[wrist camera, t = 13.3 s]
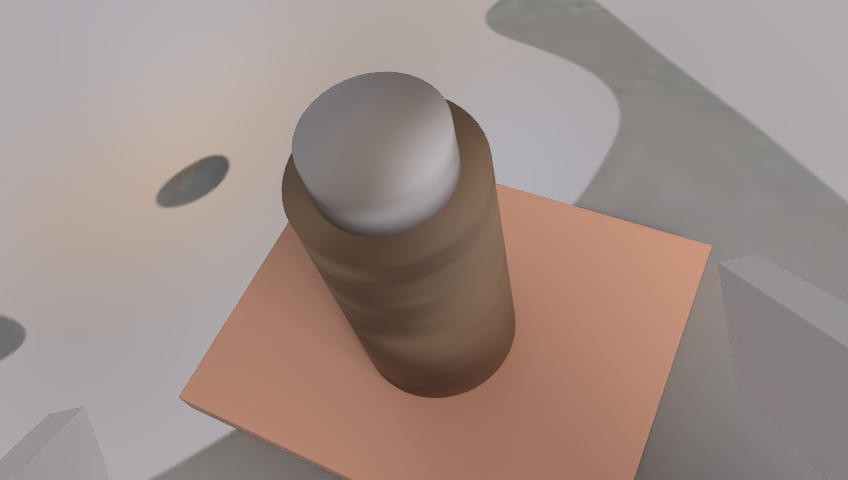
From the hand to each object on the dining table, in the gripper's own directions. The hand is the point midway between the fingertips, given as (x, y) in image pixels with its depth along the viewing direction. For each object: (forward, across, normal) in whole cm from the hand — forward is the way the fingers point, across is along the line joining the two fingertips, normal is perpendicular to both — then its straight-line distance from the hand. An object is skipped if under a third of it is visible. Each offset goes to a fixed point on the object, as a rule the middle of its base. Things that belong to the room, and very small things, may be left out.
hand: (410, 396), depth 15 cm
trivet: (+20, 0, -6) cm, 21 cm away
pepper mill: (+19, 0, -5) cm, 20 cm away
